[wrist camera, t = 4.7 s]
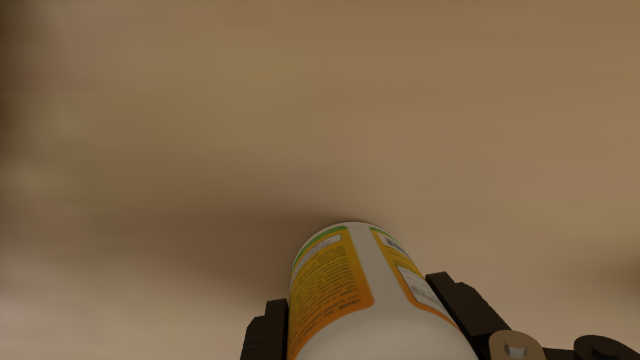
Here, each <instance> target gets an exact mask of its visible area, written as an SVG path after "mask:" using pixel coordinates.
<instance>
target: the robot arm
mask: <svg viewBox="0 0 640 360" xmlns="http://www.w3.org/2000/svg"><path fill="white" fill-rule="evenodd" d="M425 280H426V282H427V283H428V285H429V286H430V288H431V289H432V291H433V292H434V294H435V295H436V296H437V298H438V299H439V301H440V302H441V303H442V305H443V306H444V308H445V309H446V311H447V312H448V314H449V315H450V316H451V318H452V319H453V321H454V322H455V323H456V325H457V326H458V328H459V329H460V331H461V332H462V333H463V335H464V336H465V338H466V339H467V341H468V342H469V344H470V346H471V347H472V349H473V351H474V352H475V354H476V356H477V358H478V359H479V360H640V354H639V353H637V352H635V351H634V350H632V349H631V348H629V347H627V346H626V345H624V344H622V343H620V342H618V341H616V340H613V339H610V338H607V337H603V336H597V335H585V336H581V337H579V338H577V339H576V340H575V342H574V350H564V349H551V348H544V347H541V345H540V344H539V343H538V342H537V341H536V340H535V339H534V338H532V337H531V336H529V335H527V334H525V333H522V332H518V331H513V330H512V329H511V328H510V327H509V326H508V325H507V324H506V323H505V322H504V321H503V320H502V318H501V317H500V316H499V315H498V314H497V313H496V312H495V311H494V310H493V309H492V307H491V306H489V304H488V303H487V302H486V301H485V300H484V299H483V298H482V296H481V295H480V294H479V293H478V292H477V291H476V290H475V289H474V288H472V287H470V286H469V285H467V284H465V283H463V282H460V283H455V282H454V281H453V280H452V279H451V277H450V276H449V275H448V274H447V273H446V272H439V273H433V274H427V275H426V276H425ZM288 315H289V308H288V303H287V299H286V298H284V299H278V300H272V301H267V304H266V310H265V316H259V317H254V319H253V320H252V321H251V323H250V324H249V325H248V327H247V330H246V335H245V340H244V344H243V349H242V352H241V357H240V360H286V350H287V333H288Z"/></svg>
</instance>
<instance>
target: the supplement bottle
mask: <svg viewBox="0 0 640 360" xmlns="http://www.w3.org/2000/svg"><path fill="white" fill-rule="evenodd" d="M286 360H479V359H478V358H477V356H476V354H475V352H474V351H473V349H472V347H471V346H470V344H469V342H468V341H467V339H466V338H465V336H464V335H463V333H462V332H461V331H460V329H459V328H458V326H457V325H456V323H455V322H454V321H453V319H452V318H451V316H450V315H449V314H448V312H447V311H446V309H445V308H444V306H443V305H442V303H441V302H440V301H439V299H438V298H437V296H436V295H435V294H434V292H433V291H432V289H431V288H430V286H429V285H428V283H427V282H426V280H425V279H424V277H423V276H422V275H421V273H420V272H419V270H418V269H417V267H416V266H415V264H414V263H413V261H412V260H411V259H410V257H409V256H408V254H407V253H406V251H405V250H404V249H403V247H402V246H401V245H400V244H399V242H398V241H397V240H396V239H395V238H394V237H393V236H392V235H390V234H389V233H388V232H386V231H385V230H383V229H381V228H379V227H377V226H374V225H372V224H368V223H364V222H344V223H338V224H335V225H331V226H329V227H327V228H324V229H322V230H321V231H319V232H317V233H316V234H314V235H313V236H312V237H311V238H309V239H308V240H307V241H306V242H305V244H304V245H303V246H302V247H301V249H300V250H299V252H298V254H297V256H296V258H295V260H294V263H293V266H292V270H291V277H290V290H289V315H288V333H287V350H286Z"/></svg>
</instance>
